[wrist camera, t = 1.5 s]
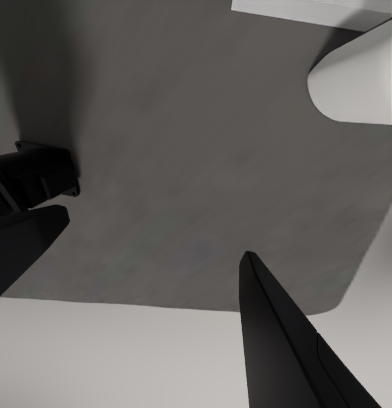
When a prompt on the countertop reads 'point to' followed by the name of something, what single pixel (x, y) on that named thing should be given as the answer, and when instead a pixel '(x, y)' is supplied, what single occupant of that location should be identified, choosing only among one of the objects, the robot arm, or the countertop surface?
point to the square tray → (322, 11)
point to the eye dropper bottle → (356, 79)
